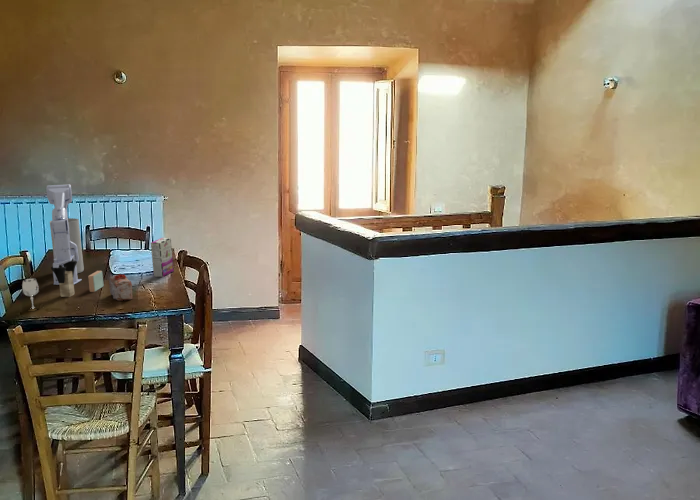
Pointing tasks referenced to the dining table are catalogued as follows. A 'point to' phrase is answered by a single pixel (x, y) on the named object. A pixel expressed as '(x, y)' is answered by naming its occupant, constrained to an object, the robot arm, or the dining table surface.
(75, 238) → the cylinder vase
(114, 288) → the food item
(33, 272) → the dining table surface
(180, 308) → the dining table surface
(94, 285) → the terracotta tile
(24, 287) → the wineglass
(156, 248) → the candy bar box
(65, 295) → the beech stick
